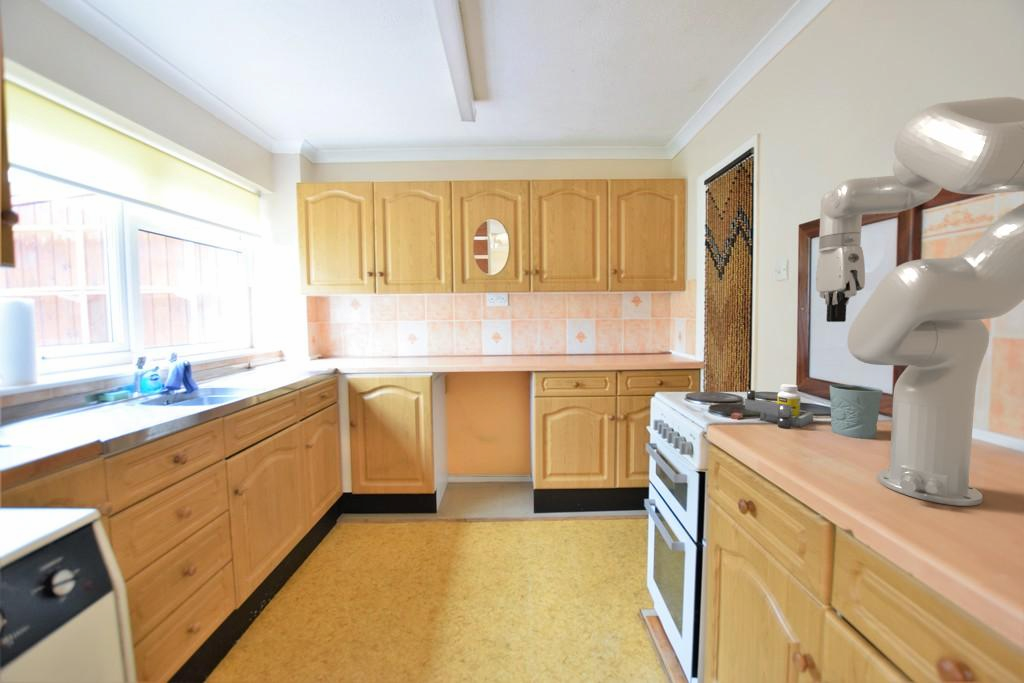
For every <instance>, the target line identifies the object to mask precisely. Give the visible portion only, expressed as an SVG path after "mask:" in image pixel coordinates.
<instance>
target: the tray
mask: <svg viewBox="0 0 1024 683" xmlns="http://www.w3.org/2000/svg"><path fill="white" fill-rule="evenodd" d="M759 413H760V415H759V417H760V418H759V420H760V421H765V422H770V423H776V424H778V417H779V416H776V415H771V414H767V413H762V412H759ZM813 421H814V412H813V411H806V410H802V409H800V417H798V418H797V421H796V417H795V416H791V427H797V428H803V427H805V426H806V425H808V424H810V423H812V422H813Z"/></svg>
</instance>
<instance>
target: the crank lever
mask: <svg viewBox="0 0 1024 683" xmlns="http://www.w3.org/2000/svg"><path fill="white" fill-rule="evenodd" d="M744 409H745V410H749V411H754V412H759V413H760V412H762V413H767V414H771V415H776V416H779V417H784V418H791V415H792V406H790V405H785V404H778V403H777V402H773V401H767V400H762V399H757V398H756V390H752V389H747V390H746V398H744Z"/></svg>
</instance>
